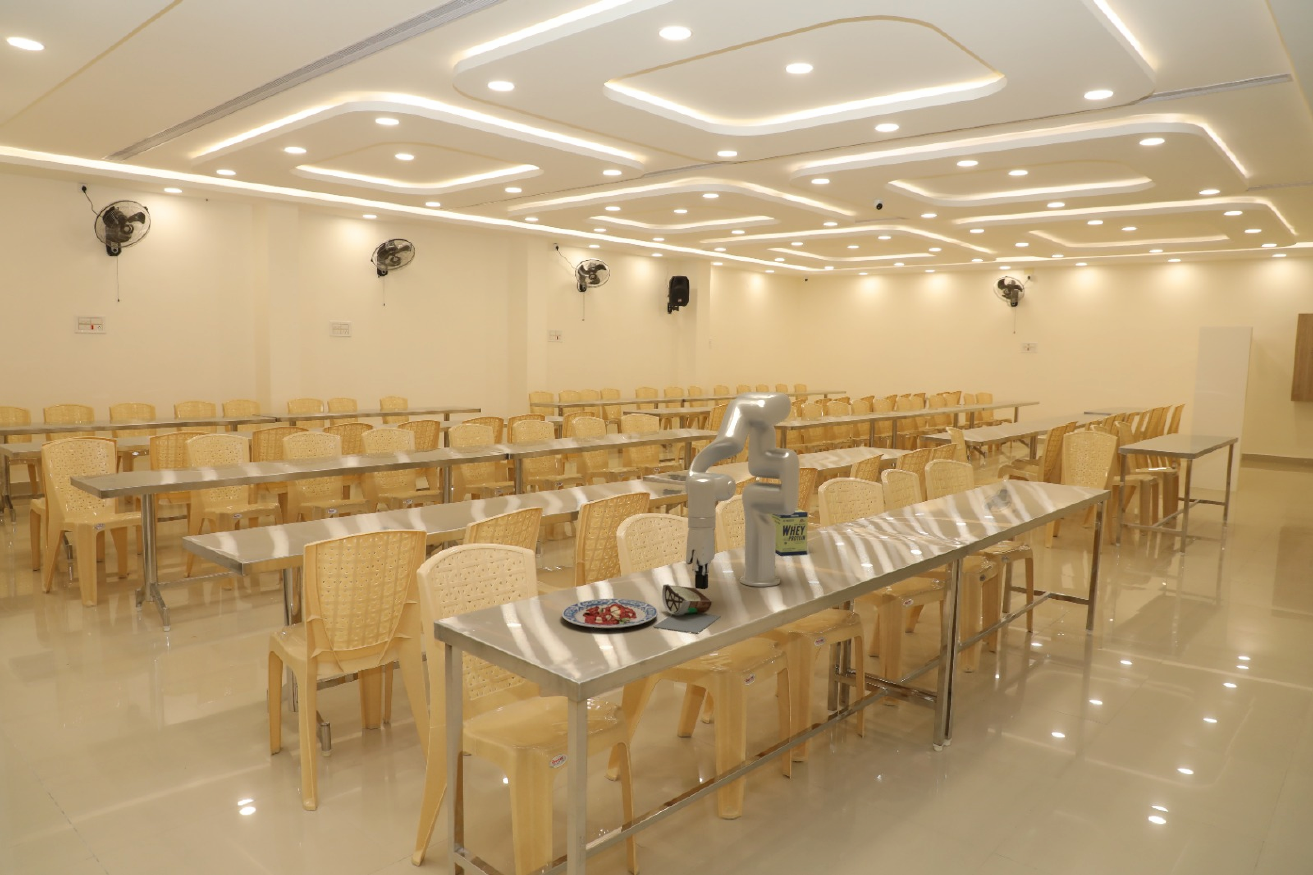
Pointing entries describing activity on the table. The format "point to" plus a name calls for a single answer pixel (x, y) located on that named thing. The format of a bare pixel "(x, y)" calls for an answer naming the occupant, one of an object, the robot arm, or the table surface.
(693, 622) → the mat
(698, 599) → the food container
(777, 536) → the protein box
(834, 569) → the table surface
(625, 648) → the table surface
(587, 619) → the ceramic plate
